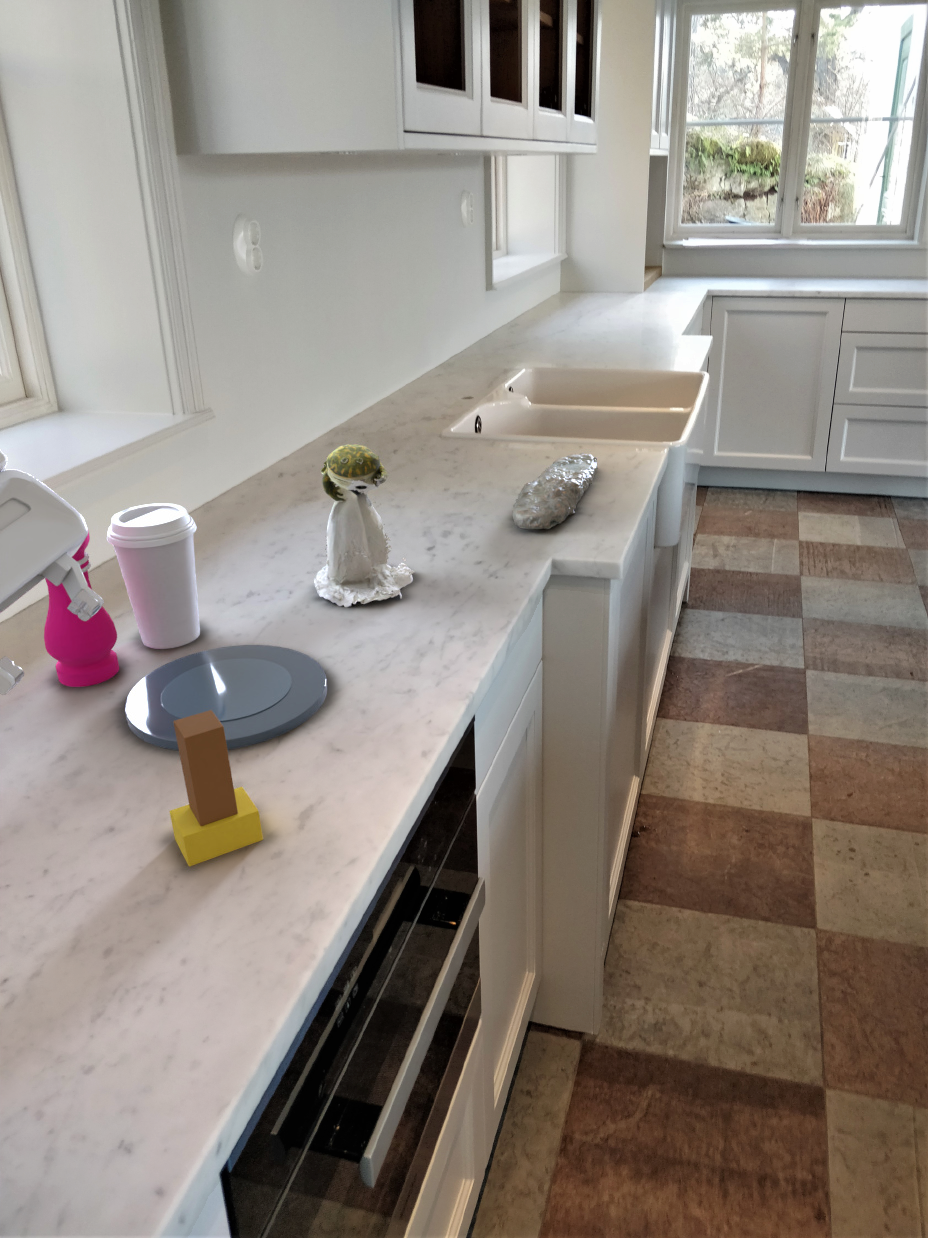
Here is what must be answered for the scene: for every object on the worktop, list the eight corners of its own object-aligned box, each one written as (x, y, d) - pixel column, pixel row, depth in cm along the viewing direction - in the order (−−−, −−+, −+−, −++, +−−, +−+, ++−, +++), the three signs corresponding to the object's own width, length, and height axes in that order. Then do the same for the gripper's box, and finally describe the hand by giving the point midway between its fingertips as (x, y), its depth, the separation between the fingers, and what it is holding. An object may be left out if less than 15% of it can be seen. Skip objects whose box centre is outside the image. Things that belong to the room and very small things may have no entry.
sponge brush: (189, 868, 74) (165, 747, 69) (175, 841, 77) (151, 723, 72) (263, 841, 77) (245, 723, 72) (246, 816, 80) (228, 701, 75)
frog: (300, 605, 118) (282, 460, 110) (334, 565, 130) (320, 432, 122) (393, 610, 116) (382, 462, 108) (419, 569, 127) (411, 433, 119)
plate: (155, 777, 85) (153, 765, 85) (107, 686, 101) (104, 675, 101) (359, 712, 94) (358, 701, 94) (285, 638, 110) (284, 628, 110)
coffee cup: (191, 612, 118) (171, 495, 111) (227, 637, 111) (208, 514, 104) (115, 636, 112) (90, 514, 106) (148, 664, 105) (123, 536, 99)
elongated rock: (610, 476, 166) (554, 476, 170) (610, 446, 164) (553, 446, 168) (566, 534, 136) (499, 533, 139) (565, 498, 134) (497, 497, 137)
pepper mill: (94, 653, 108) (55, 482, 100) (138, 667, 105) (102, 491, 96) (39, 681, 103) (-7, 502, 94) (84, 696, 99) (41, 512, 91)
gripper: (-221, 565, 57) (-28, 713, 59) (7, 434, 73) (151, 554, 76) (-241, 622, 61) (-58, 759, 63) (-20, 485, 77) (118, 598, 79)
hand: (57, 646), depth 69 cm, fingers open, 8 cm apart
